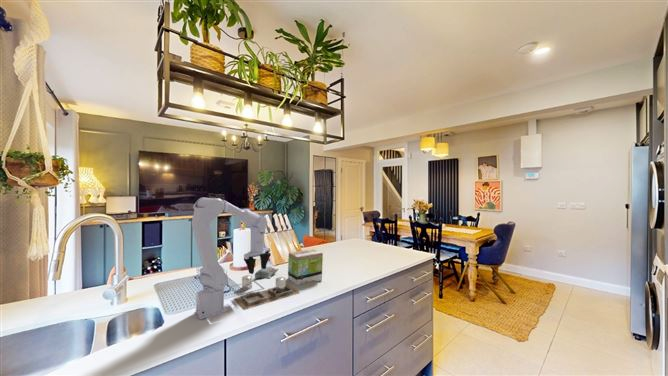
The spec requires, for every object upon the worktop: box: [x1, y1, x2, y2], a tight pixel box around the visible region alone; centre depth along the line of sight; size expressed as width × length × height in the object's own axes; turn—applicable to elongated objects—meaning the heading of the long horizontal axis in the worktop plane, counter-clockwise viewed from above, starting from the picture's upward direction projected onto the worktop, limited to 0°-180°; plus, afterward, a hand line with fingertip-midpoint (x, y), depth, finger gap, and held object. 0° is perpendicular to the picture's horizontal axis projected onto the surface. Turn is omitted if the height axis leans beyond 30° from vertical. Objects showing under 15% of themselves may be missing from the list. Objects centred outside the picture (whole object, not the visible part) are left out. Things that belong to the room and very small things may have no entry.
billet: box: [275, 276, 287, 294], centre depth 113 cm, size 4×4×6 cm
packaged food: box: [254, 266, 279, 280], centre depth 136 cm, size 9×12×5 cm
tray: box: [229, 280, 265, 296], centre depth 118 cm, size 12×12×2 cm
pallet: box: [233, 284, 300, 311], centre depth 109 cm, size 25×12×3 cm, turn 129°
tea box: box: [287, 248, 324, 285], centre depth 130 cm, size 15×10×15 cm, turn 129°
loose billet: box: [241, 274, 253, 291], centre depth 118 cm, size 4×4×6 cm
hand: (257, 270), depth 117 cm, fingers open, 7 cm apart
